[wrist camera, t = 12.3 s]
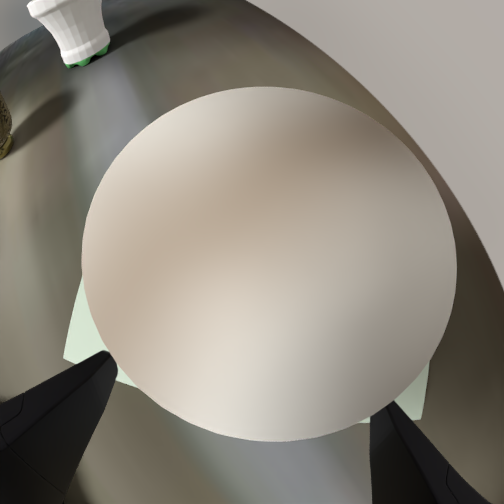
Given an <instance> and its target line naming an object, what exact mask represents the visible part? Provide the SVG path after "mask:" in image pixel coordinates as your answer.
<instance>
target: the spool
mask: <svg viewBox="0 0 504 504" xmlns="http://www.w3.org/2000/svg"><path fill="white" fill-rule="evenodd" d="M82 273H83V282H84V290H85V294H86V298H87V302H88V306H89V309H90V313H91V316H92V318H93V321H94V323H95V325H96V328H97V330H98V332H99V335H100V337H101V339H102V341H103V342H104V344H105V346H106V347H107V349H108V351H109V352H110V354H111V355H112V357H113V358H114V360H115V361H116V363H117V364H118V366H119V367H120V368H121V369H122V370H123V371H124V373H125V374H126V375H127V376H128V377H129V378H130V379H131V380H132V382H133V383H134V384H135V385H136V386H137V387H138V388H139V389H140V390H142V391H143V392H144V393H145V394H146V395H148V396H149V397H150V398H151V399H153V400H154V401H155V402H156V403H158V404H159V405H160V406H161V407H163V408H165V409H166V410H168V411H170V412H171V413H173V414H175V415H177V416H178V417H180V418H182V419H184V420H185V421H187V422H189V423H191V424H194V425H196V426H199V427H202V428H204V429H207V430H210V431H212V432H215V433H218V434H221V435H226V436H231V437H235V438H241V439H246V440H252V441H275V442H286V441H294V440H302V439H309V438H316V437H320V436H323V435H326V434H330V433H333V432H336V431H339V430H342V429H345V428H348V427H350V426H352V425H354V424H356V423H358V422H360V421H362V420H364V419H366V418H368V417H370V416H372V415H374V414H375V413H376V412H378V411H379V410H381V409H382V408H384V407H385V406H386V405H388V404H389V403H391V402H392V401H393V400H395V399H396V398H397V397H398V396H399V395H400V394H401V393H402V392H403V391H404V390H405V389H406V388H407V387H408V386H409V385H410V384H411V383H412V382H413V381H414V380H415V379H416V378H417V377H418V375H419V374H420V373H421V371H422V370H423V369H424V367H425V366H426V365H427V363H428V362H429V360H430V359H431V358H432V356H433V354H434V352H435V350H436V348H437V346H438V345H439V343H440V341H441V339H442V337H443V334H444V332H445V329H446V326H447V323H448V320H449V318H450V315H451V311H452V306H453V301H454V296H455V291H456V277H457V260H456V247H455V241H454V236H453V231H452V227H451V223H450V220H449V217H448V214H447V211H446V208H445V205H444V203H443V200H442V198H441V196H440V194H439V192H438V190H437V188H436V186H435V184H434V183H433V181H432V179H431V178H430V176H429V174H428V173H427V171H426V170H425V168H424V167H423V166H422V164H421V163H420V162H419V161H418V159H417V158H416V157H415V156H414V154H413V153H412V152H411V151H410V150H409V149H408V148H407V147H406V146H405V145H404V144H403V143H402V142H401V141H400V140H399V139H398V138H397V137H396V136H395V135H394V134H392V133H391V132H390V131H389V130H388V129H386V128H385V127H384V126H383V125H381V124H380V123H378V122H377V121H375V120H374V119H372V118H371V117H369V116H368V115H366V114H364V113H362V112H360V111H359V110H357V109H355V108H353V107H351V106H349V105H347V104H344V103H342V102H339V101H337V100H334V99H332V98H329V97H326V96H322V95H319V94H316V93H312V92H307V91H302V90H297V89H290V88H280V87H248V88H238V89H232V90H227V91H222V92H217V93H213V94H210V95H207V96H203V97H200V98H197V99H195V100H192V101H190V102H188V103H185V104H183V105H181V106H179V107H177V108H175V109H173V110H171V111H170V112H168V113H166V114H164V115H163V116H161V117H159V118H158V119H157V120H155V121H154V122H152V123H151V124H150V125H148V126H147V127H146V128H144V129H143V130H142V131H141V132H140V133H139V134H138V135H137V136H135V137H134V138H133V139H132V140H131V141H130V142H129V143H128V144H127V145H126V147H125V148H124V149H123V150H122V151H121V152H120V154H119V155H118V156H117V157H116V158H115V160H114V161H113V163H112V164H111V166H110V167H109V169H108V170H107V172H106V173H105V175H104V177H103V179H102V181H101V183H100V185H99V187H98V189H97V191H96V193H95V195H94V197H93V200H92V203H91V206H90V209H89V212H88V215H87V219H86V224H85V230H84V235H83V243H82Z"/></svg>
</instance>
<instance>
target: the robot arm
mask: <svg viewBox="0 0 504 504" xmlns="http://www.w3.org/2000/svg"><path fill="white" fill-rule="evenodd" d="M117 375H118V367H117V363H116V361H115V360H114V358H113V357H112V355H111V354H110V352H109V351H106V350H102V351H100V352H98V353H96V354H94V355H92V356H90V357H89V358H87V359H85V360H83V361H81V362H79V363H78V364H76V365H74V366H72V367H70V368H68V369H67V370H65V371H63V372H61V373H59V374H57V375H55V376H54V377H52V378H50V379H48V380H46V381H44V382H42V383H41V384H39V385H37V386H35V387H33V388H31V389H29V390H27V391H26V392H25V393H22V394H20V395H18V396H16V397H14V398H12V399H10V400H8V401H6V402H3V403H1V404H0V504H62V502H63V500H64V497H65V494H66V492H67V490H68V487H69V485H70V483H71V480H72V478H73V476H74V474H75V471H76V469H77V467H78V465H79V462H80V460H81V458H82V456H83V454H84V451H85V449H86V447H87V445H88V443H89V441H90V439H91V437H92V434H93V432H94V430H95V428H96V426H97V424H98V422H99V420H100V418H101V416H102V414H103V412H104V410H105V407H106V405H107V402H108V399H109V396H110V394H111V391H112V388H113V385H114V383H115V380H116V378H117ZM370 468H371V484H372V504H491V503H490V502H488V501H487V500H486V499H485V498H484V497H482V496H481V495H480V494H479V493H478V492H477V491H476V490H475V489H474V488H472V487H471V486H470V485H469V484H468V483H467V482H466V481H465V480H464V479H463V478H462V477H461V476H460V475H459V474H458V472H457V471H456V470H455V469H454V468H453V467H452V466H451V465H450V464H449V462H448V461H447V460H446V459H445V458H444V457H443V455H442V454H441V453H440V452H439V451H438V450H437V448H436V447H435V446H434V445H433V444H432V443H431V442H430V440H429V439H428V438H427V437H426V436H425V435H424V434H423V432H422V431H421V430H420V429H419V428H418V427H417V426H416V424H415V423H414V422H413V421H412V420H411V419H410V418H409V416H408V415H407V414H406V413H405V412H404V411H403V410H402V408H401V407H400V406H399V405H398V404H397V403H396V402H395V401H394V400H393V401H392V402H391V403H389V404H388V405H386V406H385V407H384V408H382V409H381V410H379V411H378V412H376V413H375V414H374V415H372V416H370Z"/></svg>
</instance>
